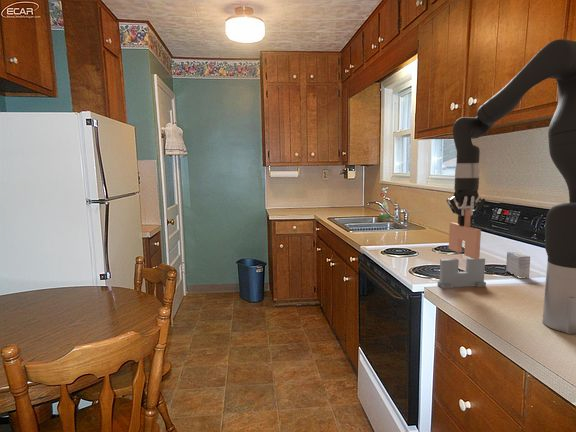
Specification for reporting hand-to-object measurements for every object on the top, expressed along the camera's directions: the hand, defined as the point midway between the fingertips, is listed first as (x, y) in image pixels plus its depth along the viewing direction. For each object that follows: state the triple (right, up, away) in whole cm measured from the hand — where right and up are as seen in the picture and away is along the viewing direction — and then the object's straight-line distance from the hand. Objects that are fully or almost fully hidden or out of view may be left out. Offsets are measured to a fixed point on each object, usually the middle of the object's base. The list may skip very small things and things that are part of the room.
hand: (464, 225), depth 124 cm
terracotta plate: (0, -10, +1) cm, 10 cm away
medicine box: (+27, -20, +14) cm, 37 cm away
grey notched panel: (0, -22, +3) cm, 22 cm away
